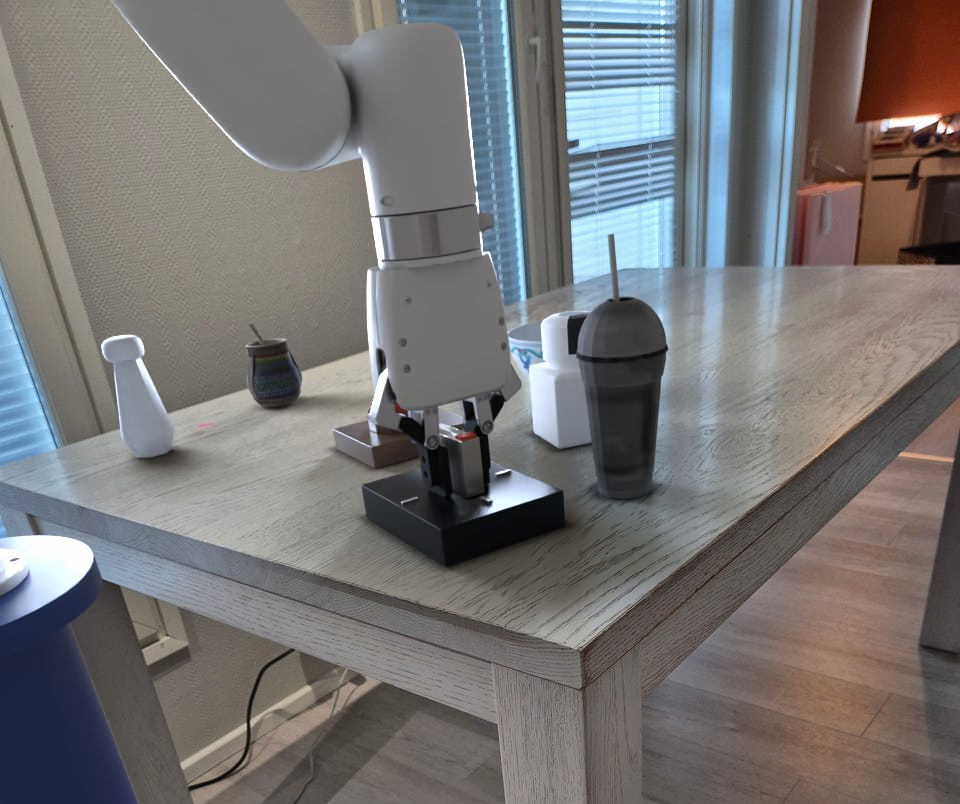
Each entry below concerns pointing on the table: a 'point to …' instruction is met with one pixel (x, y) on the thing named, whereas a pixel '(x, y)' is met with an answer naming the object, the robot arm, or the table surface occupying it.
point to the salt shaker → (138, 399)
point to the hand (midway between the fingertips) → (458, 484)
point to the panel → (464, 513)
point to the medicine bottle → (560, 383)
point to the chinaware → (526, 346)
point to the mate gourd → (272, 372)
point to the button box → (383, 440)
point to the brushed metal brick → (463, 460)
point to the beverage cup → (622, 388)
